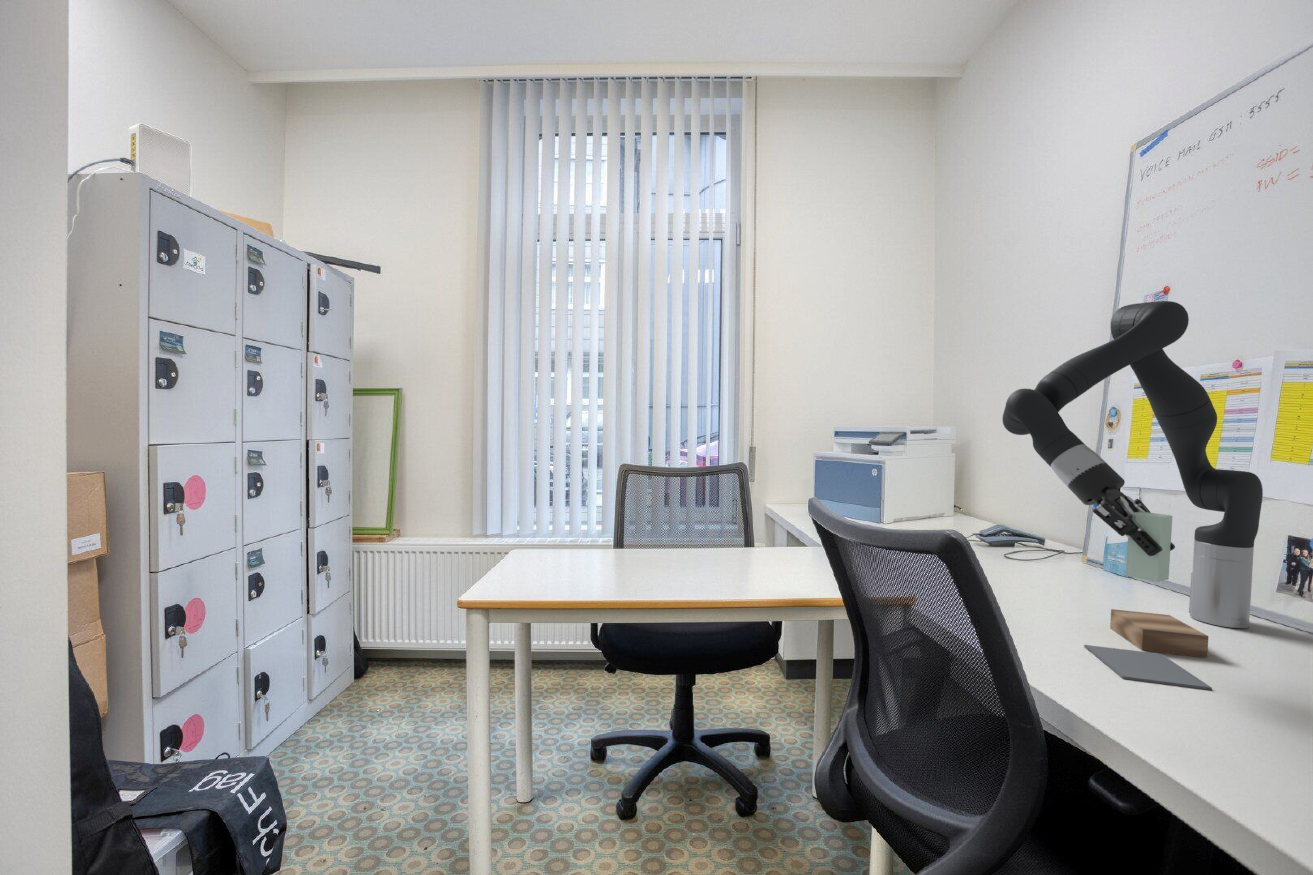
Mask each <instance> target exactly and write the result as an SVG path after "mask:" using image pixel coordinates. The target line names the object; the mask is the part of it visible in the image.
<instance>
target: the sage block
mask: <svg viewBox="0 0 1313 875" xmlns="http://www.w3.org/2000/svg"><path fill="white" fill-rule="evenodd" d="M1133 514H1134V515H1135V516H1136V519H1135V520H1136V522H1137V523H1138V524H1139V525H1140V526H1141V527H1142V528H1143V529H1144V531H1146V532H1147V533H1148V534H1149V535H1150V536H1151V537H1152V538H1153V539H1154V540H1155V541H1156V542H1157V543H1158V544H1159V545H1160V546H1161V547H1162V551H1161V552H1159V553H1157V554H1156V555H1154V556H1149V555H1147V554H1146V553H1145V552H1144V551H1143V550H1142V548H1141V547H1140V546H1139V545H1138V544H1137V543H1136V542H1135V541H1134V540H1133V539H1132V538H1131V539H1130V538H1128V537H1127V544H1126V545H1127V546H1126V548H1127V549H1126V562H1125V565H1126V566H1125V576H1128V577H1131V578H1135V579H1136V578H1137V579H1141V580H1144V581H1145V580H1146V581H1150V582H1155V583H1159V582H1164V581H1167V580H1169V576H1170V564H1171V560H1170V559H1171V551H1170V546H1171V542H1172V531H1173V530H1172V529H1173V515H1171V514H1162V513H1155V512H1151V513H1148V512H1134V513H1133ZM1144 531H1142V532H1144Z"/></svg>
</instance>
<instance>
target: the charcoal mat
mask: <svg viewBox="0 0 1313 875" xmlns="http://www.w3.org/2000/svg"><path fill="white" fill-rule="evenodd" d="M1083 646H1084V649H1086V650H1088V652H1090V653H1091V654H1092V655H1094V656H1095V657H1096V658H1097V659H1098V660H1100V661H1101V662H1102V663H1103V664H1104V665H1105V666H1107V667H1108V668H1109V669H1110V670H1111V671H1113V672H1114V673H1115V674H1116V675H1118V676H1119V677H1120V678H1122V680H1131V681H1138V682H1145V681H1147V682H1146V683H1154V684H1162V685H1170V686H1177V687H1185V688H1193V689H1200V690H1201V689H1202V690H1206V691H1207V690H1208V691H1212V690H1213V687H1211V686H1210V685H1208V684H1207V683H1206V682H1204V680H1201V679H1200V678H1198V677H1197V676H1195V675H1193V673H1191V672H1189V671H1188V670H1187V669H1185V668H1183V667H1181V666H1180V665H1179V664H1177V663H1176V662H1174V661H1173V660H1171V659H1170V658H1168V657H1167V656H1165V655H1164V654H1163V653H1160V652H1152V651H1143V650H1132V649H1126V648H1125V649H1123V648H1117V647H1116V648H1115V647H1106V646H1105V647H1104V646H1100V645H1099V646H1098V645H1092V644H1091V645H1090V644H1084V645H1083Z"/></svg>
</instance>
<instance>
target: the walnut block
mask: <svg viewBox="0 0 1313 875" xmlns="http://www.w3.org/2000/svg"><path fill="white" fill-rule="evenodd" d="M1109 626H1110V627H1109V629H1110V630H1112V631H1113V632H1115V633H1116V634H1117V635H1119V636H1121V637H1122V638H1123V639H1125V640H1126V641H1128V642H1129V643H1131V644H1132V645H1134V646H1135V647H1136V648H1138V649H1139V650H1140V651H1143V652H1152V653H1161V654H1163V653H1164V654H1171V655H1179V656H1180V655H1181V656H1188V657H1198V658H1206V659H1207V658H1208V651H1209V650H1208V649H1209V635H1208V634H1205V633H1204V632H1201V631H1200V630H1198V629H1196V628H1194V627H1193V626H1190V625H1189V624H1187V623H1185V622H1183V621H1181V620H1180V619H1178V618H1175V617H1174V616H1171V615H1170V614H1162V613H1161V614H1160V613H1153V612H1144V611H1143V612H1142V611H1133V610H1132V611H1131V610H1123V609H1114V608H1113V609H1112V608H1111V609H1110V625H1109Z"/></svg>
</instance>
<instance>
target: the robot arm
mask: <svg viewBox="0 0 1313 875" xmlns="http://www.w3.org/2000/svg"><path fill="white" fill-rule="evenodd" d="M1189 321H1190V320H1189V314H1188V312H1187V309H1186V308H1185V307H1184V306H1183V304H1180V303H1178V302H1176V301H1169V300H1159V301H1149V302H1140V303H1132V304H1126V305H1124V306H1123V305H1122V306H1121V307H1120V308H1118V309H1117V310H1116V311H1115V312H1114V313H1113V315H1112V317H1111V319H1110V332H1111V333H1110V334H1111V337H1112V340H1110V341H1109V342H1106V343H1104V344H1102V345H1099V346H1097V347H1095V348H1092V349H1090V350H1087V351H1085V352H1082V353H1080V354H1078V355H1076V356H1074V357H1072V358H1070V359H1068V360H1067V361H1065V362H1062V364H1060V365H1059V366H1057V367H1056V368H1054V369H1053V370H1052V371H1050V372H1049V373H1047V374H1046V375H1045V376H1043V377H1042V378H1041V379H1040V381H1038V383H1037V384H1036V386H1035V388H1034V389H1032V388H1019V389H1016V390H1015V391H1013V392H1011V394H1009V396H1008V397H1007V400H1006V402H1005V407H1004V411H1003V414H1002V419H1001V420H1002V424H1003V426H1004V428H1005V429H1006V430H1007V432H1009V433H1011V434H1014V435H1017V436H1024V435H1030V436H1031V440H1032V447H1033V450H1034V451H1035V452H1036V454H1038V456H1039V457H1041V459H1042V460H1043V461H1044V462H1045V463H1046V464H1047V465H1048V466H1049V467H1050V468H1051V469H1052V471H1053V472H1054V473H1055V475H1056V476H1057V477H1058V478H1059V480H1061V481H1062V483H1063V484H1064V485H1065V486H1066V487H1067V488H1068V489H1069V490H1070V491H1071V492H1072V493H1073V494H1074V496H1076V498H1077V499H1078V500H1079V501H1081V503H1082V504H1083V505H1086V506H1093V505H1095V504H1096V507H1094V508H1093V509H1092V512H1093V514H1095V515H1096V516H1097V517H1098V518H1099V519H1101V520H1102V521H1103V522H1104V523H1105V524H1106V525H1107V526H1108V527H1110V528H1111V529H1112V530H1114V531H1115V532H1116V533H1117V534H1118V535H1119V536H1121V537H1124V536H1125V537H1127V539H1128V538H1130V539H1131V538H1132V539H1133V540H1134V541H1135V542H1136V543H1137V544H1138V545H1139V546H1140V547H1141V548H1142V550H1143V551H1144V552H1145V553H1146V554H1147V555H1149V556H1154V555H1156V554H1157V553H1159V552H1161V551H1162V547H1161V546H1160V545H1159V544H1158V543H1157V542H1156V541H1155V540H1154V539H1153V538H1152V537H1151V536H1150V535H1149V534H1148V533H1147V532H1146V531H1144V529H1143V528H1142V527H1141V526H1140V525H1139V524H1138V523H1137V522H1136V520H1135V519H1136V516H1135V515H1134V514H1133V513H1134V512H1148V513H1152V512H1151V511H1150V510H1149V509H1148V507H1147V506H1146V505H1145V504H1144V502H1143V501H1142V500H1141V499H1139V498H1136V499H1133V498H1132V497H1130V496H1129V495H1126V494H1125V493H1123V492H1122V491H1121V490H1122V487H1124V485H1125V482H1126V481H1125V479H1124V478H1122V476H1121V475H1120V474H1119V473H1118V472H1116V470H1114V468H1113V467H1112V466H1110V465H1109V463H1107V462H1106V461H1105V460H1104V459H1103V458H1102V457H1101V456H1100V455H1099V454H1098V453H1097V452H1096V451H1094V450H1093V449H1091V447H1089V446H1087V444H1086V443H1084V442H1083V441H1082V440H1081V439H1080V438H1079V437H1078V436H1077V435H1076V434H1075V433H1074V432H1073V431H1071V430H1070V429H1069V427H1068V426H1067V424H1066V422H1065V421H1064V419H1063V417H1062V416H1061V414H1060V413H1059V412H1060V411H1061V410H1062V409H1063V408H1064V407H1065V406H1066V405H1067V404H1069V403H1072V402H1073V401H1074V400H1076V399H1077V398H1078V397H1080V396H1081V395H1082V396H1083V394H1084V393H1086V392H1087V391H1089V390H1091V388H1093V387H1095V386H1096V385H1098V384H1099V383H1100V382H1102V381H1103V380H1105V379H1107V378H1108V377H1110V376H1112V375H1114V374H1116V373H1117V372H1119V371H1120V370H1122V369H1124V368H1126V367H1128V366H1130V368H1131V369H1132V371H1133V373H1134V375H1135V376H1136V378H1137V381H1138V382H1139V385H1140V386H1141V389H1142V390H1143V392H1144V394H1145V396H1146V398H1147V400H1148V402H1149V405H1150V408H1151V410H1152V412H1153V414H1154V416H1155V418H1156V420H1157V423H1158V425H1159V427H1160V428H1161V430H1162V433H1163V435H1164V437H1165V438H1166V441H1167V443H1168V445H1169V448H1170V450H1171V452H1172V454H1173V458H1174V459H1175V462H1176V465H1177V469H1178V472H1179V475H1180V478H1181V481H1182V485H1183V488H1184V490H1185V493H1186V496H1187V497H1188V500H1189V501H1190V502H1191V503H1192V504H1193V505H1194V506H1195V507H1196V508H1198V509H1199V508H1200V509H1202V510H1208V511H1214V512H1220V513H1221V512H1223V517H1222V520H1221V521H1220V522H1218V523H1214V524H1210V525H1202V526H1198V527H1196V528H1195V530H1194V537H1193V538H1194V540H1193V557H1192V558H1193V559H1192V572H1191V573H1190V589H1189V604H1188V613H1189V616H1190V617H1191V618H1192V619H1194V620H1197V621H1200V622H1203V623H1205V624H1210V625H1214V626H1219V627H1223V628H1224V627H1226V628H1231V629H1248V628H1249V627H1250V614H1251V602H1252V601H1251V598H1252V586H1253V585H1252V584H1253V567H1254V549H1255V548H1254V547H1255V540H1256V537H1257V535H1258V532H1259V528H1260V518H1261V511H1262V505H1263V494H1264V492H1263V491H1264V490H1263V484H1262V482H1261V479H1260V477H1259V476H1258V475H1256V474H1255V473H1254V472H1252V471H1251V472H1250V471H1245V470H1244V471H1243V470H1234V469H1233V470H1232V469H1222V468H1221V469H1220V468H1215V467H1213V466H1212V465H1211V463H1210V460H1209V458H1208V455H1207V445H1208V444H1209V441H1210V440H1211V438H1212V436H1213V434H1214V431H1215V429H1216V428H1217V423H1218V415H1217V414H1218V413H1217V411H1216V409H1215V407H1214V405H1213V403H1212V400H1211V398H1210V396H1209V394H1208V392H1207V390H1206V389H1205V387H1204V386H1203V385H1202V384H1201V383H1200V382H1199V381H1198V380H1197V379H1195V378H1194V377H1193V376H1192V375H1190V374H1189V373H1187V372H1186V371H1185V370H1184V369H1183V368H1182V367H1180V366H1179V365H1177V364H1176V363H1175V362H1174V361H1172V359H1171V358H1170V357H1169V356H1168V355H1167V353H1166V352H1165V350H1164V349H1165V348H1167V347H1168V346H1170V345H1172V344H1174V343H1176V342H1177V341H1178V340H1179V339H1180V338H1182V337H1183V335H1184V334H1185V333H1186V331H1187V329H1188V327H1189V326H1188V325H1189ZM1142 531H1144V532H1142ZM1175 548H1176V546H1175V544H1174V543H1173V542H1172V541H1171V546H1170V552H1171V551H1173V550H1175Z"/></svg>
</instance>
